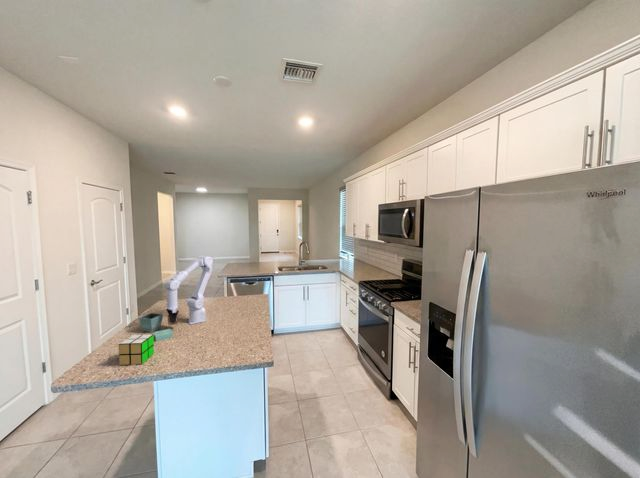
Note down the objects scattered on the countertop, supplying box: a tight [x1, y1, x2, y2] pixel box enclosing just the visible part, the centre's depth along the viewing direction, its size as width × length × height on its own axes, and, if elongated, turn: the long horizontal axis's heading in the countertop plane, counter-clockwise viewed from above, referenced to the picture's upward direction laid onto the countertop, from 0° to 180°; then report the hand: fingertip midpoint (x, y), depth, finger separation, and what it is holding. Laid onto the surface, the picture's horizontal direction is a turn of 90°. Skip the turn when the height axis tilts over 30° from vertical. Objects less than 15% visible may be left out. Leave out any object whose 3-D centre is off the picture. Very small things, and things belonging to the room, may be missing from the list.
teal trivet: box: [153, 328, 174, 342], centre depth 145 cm, size 8×8×3 cm
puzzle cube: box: [118, 334, 155, 366], centre depth 120 cm, size 10×10×10 cm
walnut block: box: [167, 314, 178, 326], centre depth 156 cm, size 4×4×6 cm
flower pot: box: [138, 312, 164, 333], centre depth 154 cm, size 9×9×9 cm
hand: (172, 321), depth 156 cm, fingers closed on walnut block, 4 cm apart
